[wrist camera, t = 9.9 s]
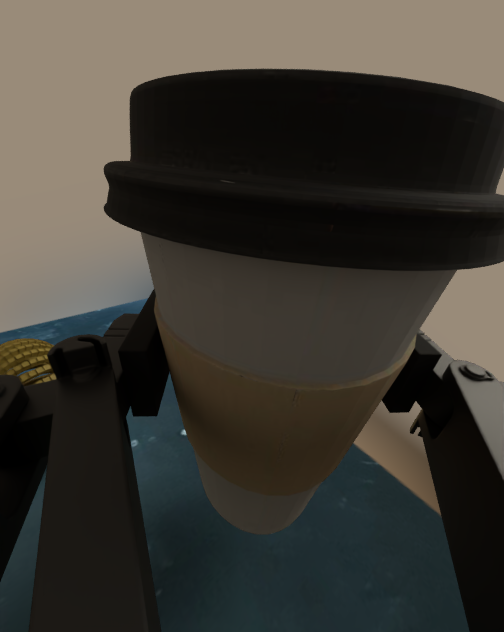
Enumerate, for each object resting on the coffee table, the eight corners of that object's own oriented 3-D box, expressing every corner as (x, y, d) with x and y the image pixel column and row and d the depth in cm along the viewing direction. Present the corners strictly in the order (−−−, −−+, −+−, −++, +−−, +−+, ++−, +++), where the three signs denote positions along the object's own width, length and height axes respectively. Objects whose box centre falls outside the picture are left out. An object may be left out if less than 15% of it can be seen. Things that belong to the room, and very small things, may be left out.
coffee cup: (339, 416, 17) (438, 149, 10) (361, 633, 9) (1083, 45, 2) (204, 387, 18) (197, 131, 11) (120, 555, 10) (-130, 27, 3)
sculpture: (117, 447, 18) (91, 360, 14) (53, 498, 15) (-3, 407, 11) (62, 392, 22) (29, 311, 18) (1, 425, 19) (-55, 336, 15)
